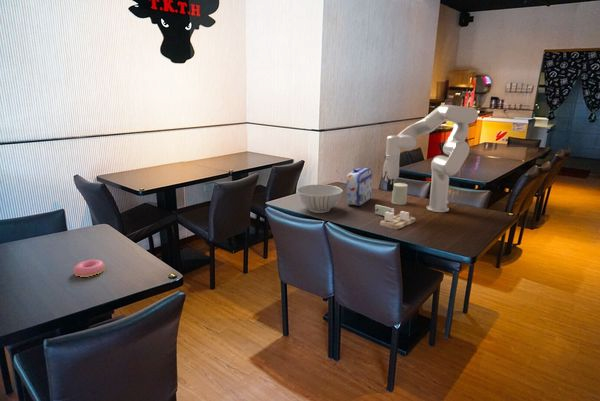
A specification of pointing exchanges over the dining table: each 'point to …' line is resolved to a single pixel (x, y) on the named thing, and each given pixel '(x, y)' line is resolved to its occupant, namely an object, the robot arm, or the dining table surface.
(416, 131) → the robot arm
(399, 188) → the can
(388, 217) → the fader
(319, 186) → the decorative bowl
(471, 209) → the dining table surface
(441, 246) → the dining table surface
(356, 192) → the lunch box
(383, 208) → the rack door
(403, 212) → the fader
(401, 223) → the console board
